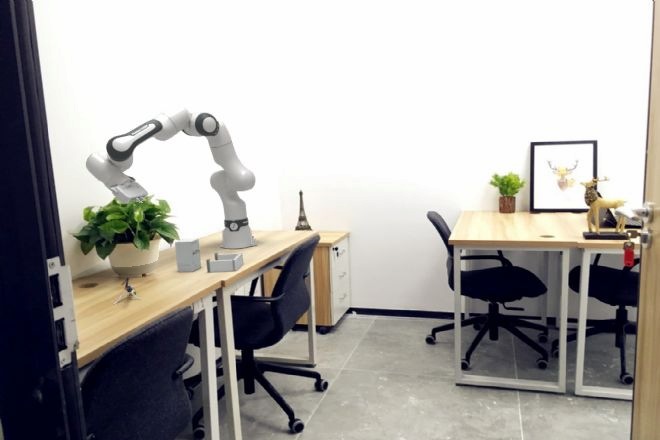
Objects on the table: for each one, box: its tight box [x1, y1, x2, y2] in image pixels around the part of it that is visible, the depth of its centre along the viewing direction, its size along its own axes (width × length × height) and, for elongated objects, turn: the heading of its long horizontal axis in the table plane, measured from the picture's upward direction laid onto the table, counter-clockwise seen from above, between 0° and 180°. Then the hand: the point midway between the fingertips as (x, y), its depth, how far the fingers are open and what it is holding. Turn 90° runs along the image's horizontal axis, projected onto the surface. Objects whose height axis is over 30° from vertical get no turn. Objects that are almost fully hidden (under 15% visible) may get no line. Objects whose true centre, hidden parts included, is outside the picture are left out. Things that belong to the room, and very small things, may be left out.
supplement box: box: [174, 238, 202, 273], centre depth 206 cm, size 7×7×13 cm
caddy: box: [205, 252, 244, 273], centre depth 206 cm, size 13×12×5 cm
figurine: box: [112, 276, 143, 306], centre depth 168 cm, size 10×9×20 cm
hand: (145, 206), depth 206 cm, fingers closed
